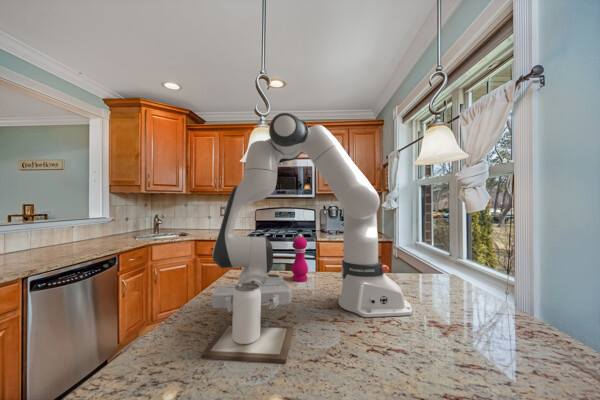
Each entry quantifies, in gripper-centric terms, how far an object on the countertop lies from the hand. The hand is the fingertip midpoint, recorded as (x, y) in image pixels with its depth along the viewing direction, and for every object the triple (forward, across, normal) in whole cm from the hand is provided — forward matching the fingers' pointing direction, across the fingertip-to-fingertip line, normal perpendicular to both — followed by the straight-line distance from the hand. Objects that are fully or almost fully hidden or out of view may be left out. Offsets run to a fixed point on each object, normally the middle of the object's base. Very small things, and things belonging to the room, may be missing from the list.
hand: (252, 307), depth 58 cm
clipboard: (-1, 0, +8) cm, 9 cm away
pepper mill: (-47, +20, +9) cm, 52 cm away
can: (-1, -1, +8) cm, 8 cm away
